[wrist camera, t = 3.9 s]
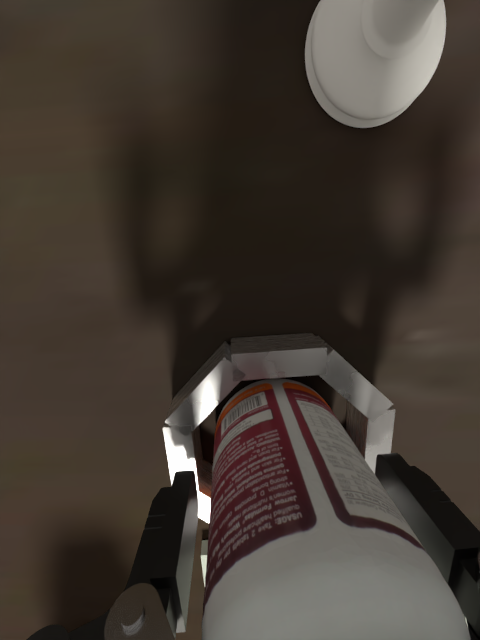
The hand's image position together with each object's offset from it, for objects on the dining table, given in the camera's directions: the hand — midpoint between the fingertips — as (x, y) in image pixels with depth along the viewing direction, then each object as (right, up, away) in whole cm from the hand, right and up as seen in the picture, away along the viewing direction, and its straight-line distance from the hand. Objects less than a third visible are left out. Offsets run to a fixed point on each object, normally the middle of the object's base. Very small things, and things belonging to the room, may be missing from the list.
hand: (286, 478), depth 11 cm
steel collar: (0, +1, +3) cm, 3 cm away
